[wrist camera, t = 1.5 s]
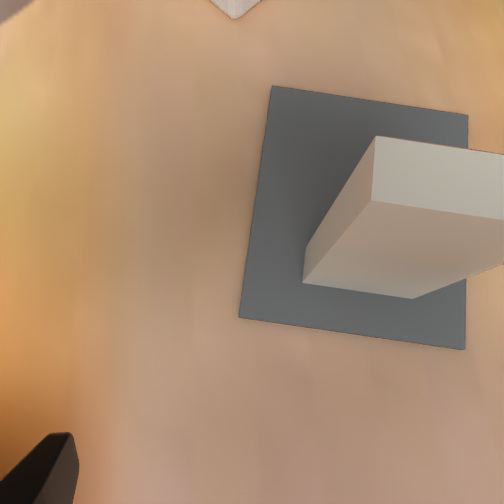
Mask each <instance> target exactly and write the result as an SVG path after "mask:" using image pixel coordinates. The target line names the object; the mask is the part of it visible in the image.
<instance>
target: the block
mask: <svg viewBox="0 0 504 504" xmlns="http://www.w3.org/2000/svg"><path fill="white" fill-rule="evenodd" d="M502 264H504V154H499V153H493V152H486V151H479V150H473V149H466V148H459V147H453V146H446V145H440V144H433V143H426V142H420V141H413V140H406V139H400V138H393V137H387V136H375V138H374V139H373V141H372V142H371V144H370V146H369V147H368V149H367V150H366V152H365V154H364V155H363V157H362V158H361V160H360V162H359V163H358V165H357V166H356V168H355V170H354V171H353V173H352V174H351V176H350V178H349V179H348V181H347V182H346V184H345V186H344V187H343V189H342V190H341V192H340V194H339V195H338V197H337V198H336V200H335V202H334V203H333V205H332V206H331V208H330V210H329V211H328V213H327V214H326V216H325V218H324V219H323V221H322V222H321V224H320V226H319V227H318V229H317V230H316V232H315V234H314V235H313V237H312V238H311V240H310V241H309V243H308V245H307V246H306V251H305V260H304V269H303V278H302V283H306V284H313V285H320V286H327V287H334V288H341V289H347V290H354V291H361V292H368V293H375V294H382V295H388V296H395V297H402V298H409V299H414V298H417V297H419V296H422V295H424V294H427V293H429V292H432V291H435V290H437V289H440V288H442V287H445V286H448V285H450V284H453V283H455V282H458V281H461V280H463V279H466V278H468V277H471V276H473V275H476V274H479V273H481V272H484V271H486V270H489V269H492V268H494V267H497V266H499V265H502Z"/></svg>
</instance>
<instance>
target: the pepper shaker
mask: <svg viewBox="0 0 504 504" xmlns="http://www.w3.org/2000/svg"><path fill="white" fill-rule="evenodd" d="M211 1H212V2H213V3H214V4H215V5H216V6H217V7H218V8H220V9H221V10H222V11H223V12H224V13H225V14H226V15H228V16H229V17H230V18H233V19H237V18H240V17H241V16H242V15H244V14H245V13H246V12H247V11H249V10H250V9H251V8H253V7H254V6H255V5H256V4H258V3H259V2H260V1H261V0H211Z"/></svg>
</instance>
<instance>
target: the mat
mask: <svg viewBox="0 0 504 504" xmlns="http://www.w3.org/2000/svg"><path fill="white" fill-rule="evenodd" d="M375 136H387V137H393V138H400V139H406V140H413V141H420V142H426V143H433V144H440V145H446V146H453V147H459V148H466V149H468V115H464V114H457V113H450V112H444V111H437V110H431V109H424V108H417V107H411V106H404V105H398V104H391V103H385V102H378V101H371V100H365V99H358V98H352V97H345V96H338V95H332V94H325V93H319V92H312V91H305V90H299V89H292V88H286V87H279V86H273V85H272V90H271V97H270V104H269V111H268V118H267V125H266V131H265V138H264V145H263V152H262V159H261V166H260V172H259V179H258V186H257V193H256V200H255V207H254V213H253V220H252V227H251V234H250V241H249V248H248V255H247V261H246V268H245V275H244V282H243V289H242V296H241V302H240V309H239V316H238V317H239V318H246V319H253V320H260V321H267V322H274V323H281V324H287V325H294V326H301V327H308V328H315V329H322V330H329V331H336V332H343V333H349V334H356V335H363V336H370V337H377V338H384V339H391V340H398V341H405V342H411V343H418V344H425V345H432V346H439V347H446V348H453V349H460V350H464V349H465V330H466V279H463V280H461V281H458V282H455V283H453V284H450V285H448V286H445V287H442V288H440V289H437V290H435V291H432V292H429V293H427V294H424V295H422V296H419V297H417V298H414V299H409V298H402V297H395V296H388V295H382V294H375V293H368V292H361V291H354V290H347V289H341V288H334V287H327V286H320V285H313V284H306V283H302V278H303V269H304V260H305V251H306V246H307V245H308V243H309V241H310V240H311V238H312V237H313V235H314V234H315V232H316V230H317V229H318V227H319V226H320V224H321V222H322V221H323V219H324V218H325V216H326V214H327V213H328V211H329V210H330V208H331V206H332V205H333V203H334V202H335V200H336V198H337V197H338V195H339V194H340V192H341V190H342V189H343V187H344V186H345V184H346V182H347V181H348V179H349V178H350V176H351V174H352V173H353V171H354V170H355V168H356V166H357V165H358V163H359V162H360V160H361V158H362V157H363V155H364V154H365V152H366V150H367V149H368V147H369V146H370V144H371V142H372V141H373V139H374V138H375Z"/></svg>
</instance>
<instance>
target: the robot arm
mask: <svg viewBox="0 0 504 504" xmlns="http://www.w3.org/2000/svg"><path fill="white" fill-rule="evenodd" d="M78 474H79V459H78V455H77V450H76V446H75V442H74V438H73V435H72V434H71V433H70V432H59V433H50V434H49V435H47V436H46V437H45V438H44V439H43V440H42V441H41V442H40V443H38V444H37V445H36V446H35V447H34V448H33V449H32V450H31V451H30V452H29V453H28V454H27V455H26V456H25V457H24V458H23V459H22V460H21V461H20V462H19V463H18V464H17V465H16V466H15V467H14V468H13V469H12V470H11V471H10V472H9V473H8V474H7V475H6V476H5V477H4V478H2V479H1V480H0V504H73V499H74V494H75V489H76V484H77V479H78Z"/></svg>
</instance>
